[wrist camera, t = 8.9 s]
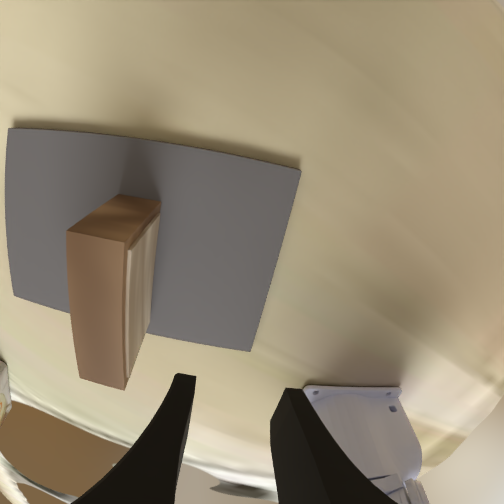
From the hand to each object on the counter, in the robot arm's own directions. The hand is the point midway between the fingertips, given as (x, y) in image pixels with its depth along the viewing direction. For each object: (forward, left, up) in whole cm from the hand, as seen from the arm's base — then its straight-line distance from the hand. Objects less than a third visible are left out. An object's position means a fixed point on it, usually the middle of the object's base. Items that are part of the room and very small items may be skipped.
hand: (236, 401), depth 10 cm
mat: (+7, -1, -9) cm, 12 cm away
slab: (+6, 0, -9) cm, 11 cm away
